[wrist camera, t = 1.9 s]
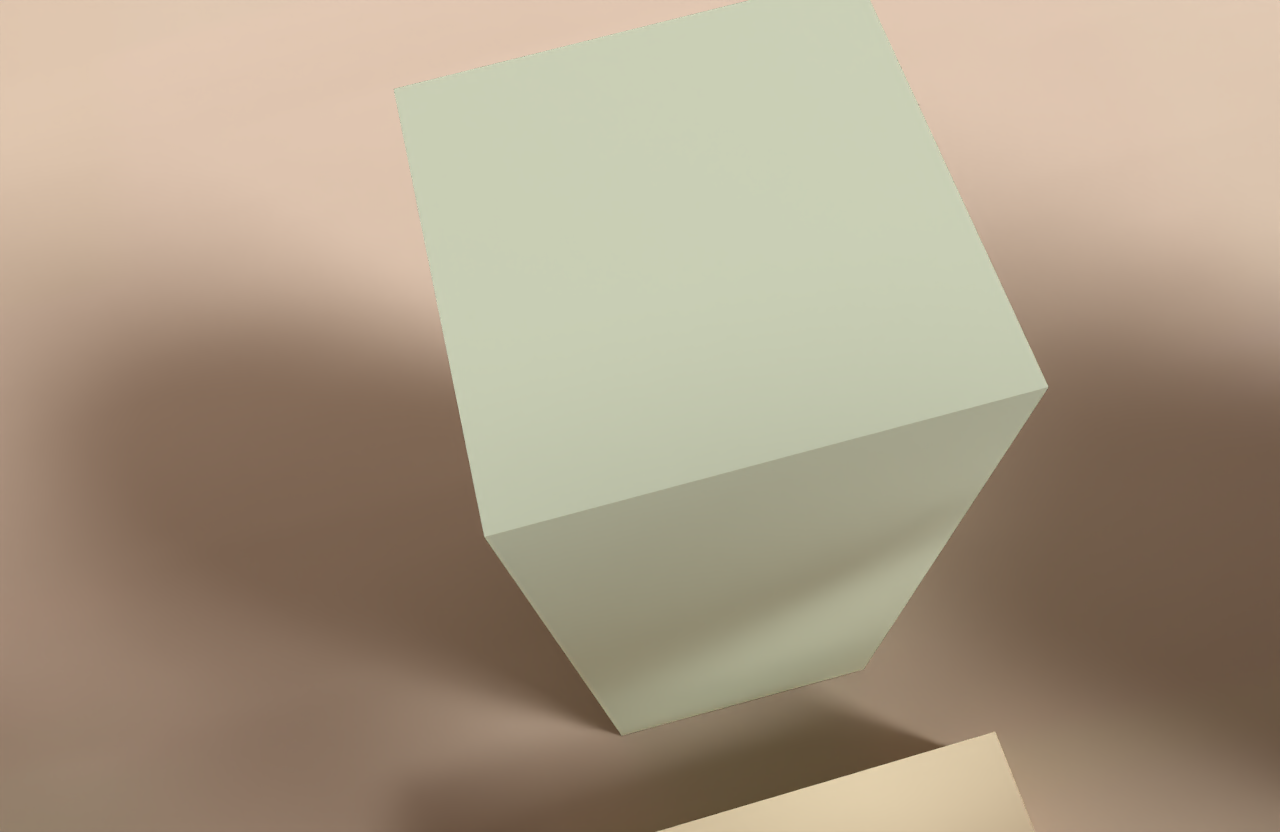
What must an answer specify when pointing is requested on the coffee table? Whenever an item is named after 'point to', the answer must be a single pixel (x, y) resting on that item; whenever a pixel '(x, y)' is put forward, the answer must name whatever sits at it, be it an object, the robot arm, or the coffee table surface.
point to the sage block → (713, 343)
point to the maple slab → (895, 798)
